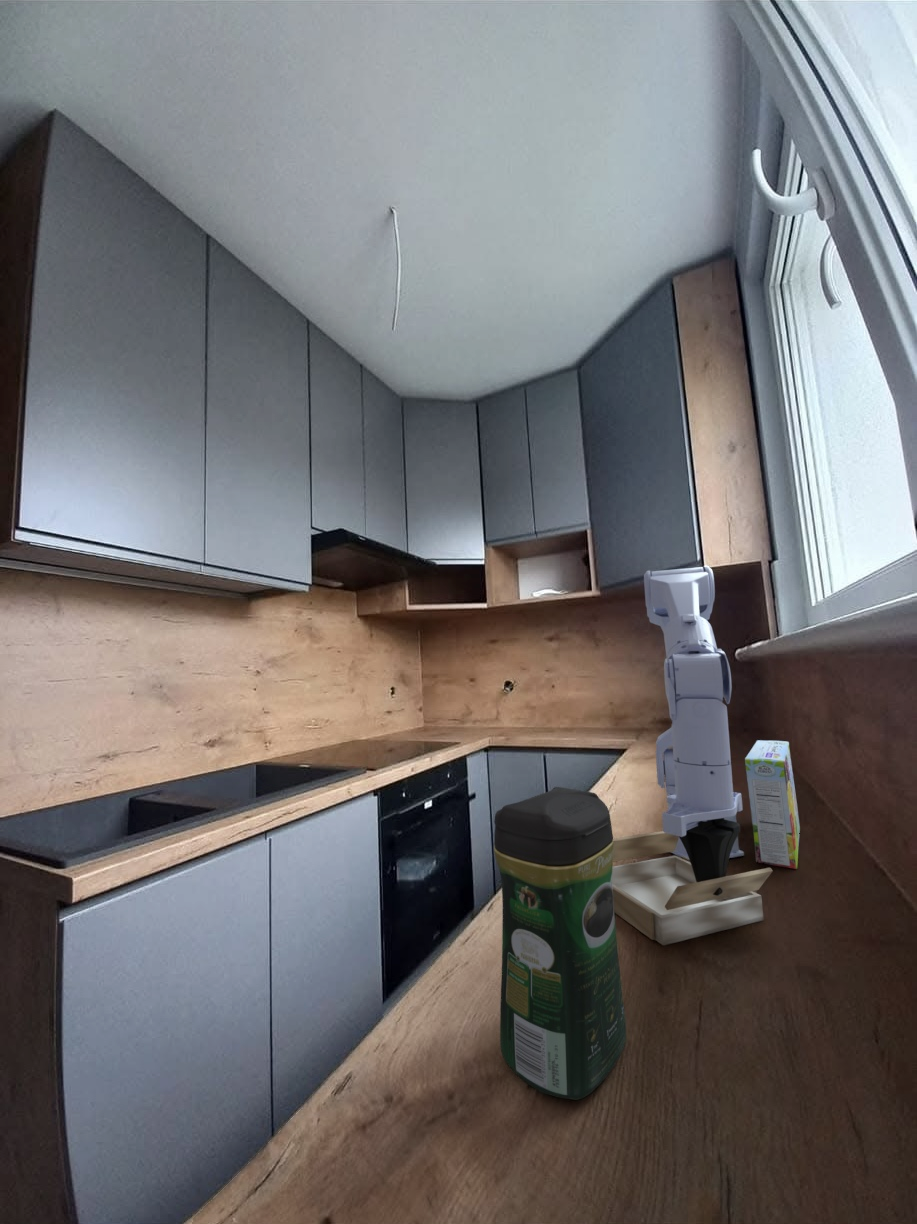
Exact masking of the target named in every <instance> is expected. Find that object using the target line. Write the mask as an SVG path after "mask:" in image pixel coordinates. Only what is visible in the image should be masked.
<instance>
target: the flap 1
mask: <svg viewBox="0 0 917 1224" xmlns="http://www.w3.org/2000/svg"><path fill="white" fill-rule="evenodd" d="M678 839H679V836H676V835H672V834H668V833H665V832H663V830H660V831H654V832H648V833H647V832H646V833H640V834H635V835H627V836H621V837H615V838H614V837H613V863H614V862H619V861H626V860H630V859H636V858H641V857H648V856H655V855H659V854H660V855H661V854H666V853H671V852H672V851H675V848H676V845H677V842H678Z"/></svg>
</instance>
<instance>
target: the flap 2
mask: <svg viewBox="0 0 917 1224" xmlns="http://www.w3.org/2000/svg"><path fill="white" fill-rule="evenodd" d="M772 873H773V869H772V868H771V867H766V868H761V869H755V870H750V871H746V872H741V873H737V874H731V875H726V877H721V878H716V879H711V880H706V881H701V882H696V883H692V884H687V885H682V886H677V888H676V889H675V891H674V892H673V894H672V895H671V897H670V899H669V900H668V902H667V903H666V905H665V908H666V909H667V910H670V909H675V908H679V907H684V906H688V905H693V904H697V903H702V902H706V901H710V900H715V899H719V898H724V897H728V896H733V895H737V894H742V893H746V892H751V891H755V890H757V891H759V890H760V888H762V886H763V885H764V883H765V882H766V881H767V879H768V878H769V877H770V876H771V875H772ZM719 887H720V888H721V889H722V890H723V892H722V893H721V894H720V895H718V896H716V895H713V894H714V893H715V891H716V890H717V889H718V888H719Z"/></svg>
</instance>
